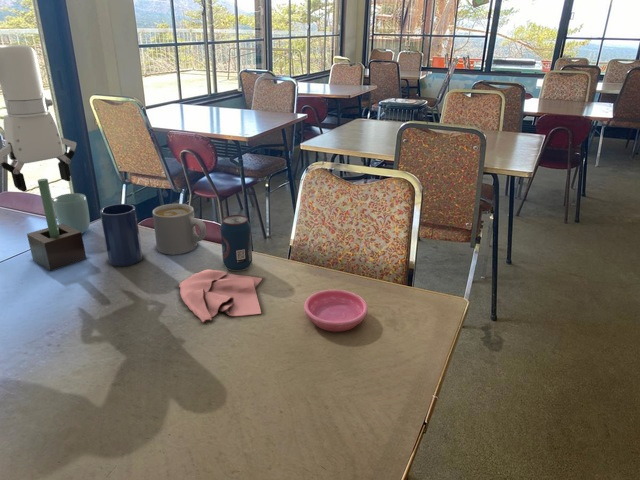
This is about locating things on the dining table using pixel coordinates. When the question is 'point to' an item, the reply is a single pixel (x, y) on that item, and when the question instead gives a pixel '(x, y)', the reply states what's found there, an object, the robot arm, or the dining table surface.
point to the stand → (57, 247)
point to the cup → (72, 211)
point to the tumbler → (121, 234)
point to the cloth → (220, 294)
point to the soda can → (236, 242)
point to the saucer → (335, 310)
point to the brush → (48, 207)
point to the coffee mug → (176, 228)
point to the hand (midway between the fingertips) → (44, 184)
